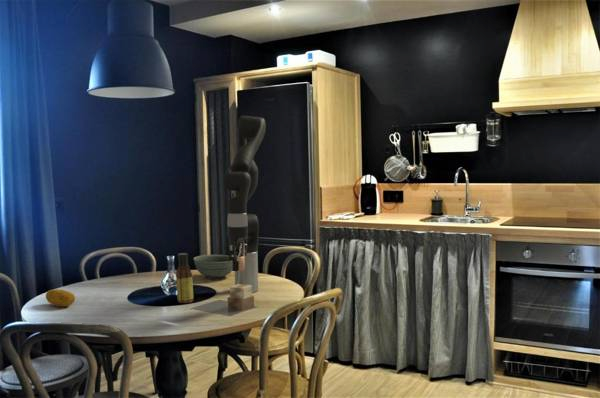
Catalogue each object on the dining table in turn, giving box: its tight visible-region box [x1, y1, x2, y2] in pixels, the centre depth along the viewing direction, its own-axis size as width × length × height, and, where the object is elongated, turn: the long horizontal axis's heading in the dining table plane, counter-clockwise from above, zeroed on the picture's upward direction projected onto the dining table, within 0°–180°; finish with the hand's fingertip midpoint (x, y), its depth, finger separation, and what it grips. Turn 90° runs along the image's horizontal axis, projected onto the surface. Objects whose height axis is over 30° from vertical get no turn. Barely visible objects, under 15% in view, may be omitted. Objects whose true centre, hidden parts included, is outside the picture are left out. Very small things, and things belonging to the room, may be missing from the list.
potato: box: [45, 289, 76, 308], centre depth 225 cm, size 8×14×7 cm, turn 53°
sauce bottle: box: [175, 252, 194, 304], centre depth 227 cm, size 6×6×20 cm
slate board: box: [190, 299, 259, 317], centre depth 217 cm, size 20×16×1 cm
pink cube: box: [232, 256, 245, 272], centre depth 217 cm, size 5×5×5 cm
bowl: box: [193, 254, 233, 281], centre depth 277 cm, size 21×21×10 cm
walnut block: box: [227, 295, 255, 310], centre depth 218 cm, size 7×7×4 cm
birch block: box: [229, 284, 253, 299], centre depth 217 cm, size 6×6×4 cm
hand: (238, 269), depth 217 cm, fingers closed on pink cube, 4 cm apart
